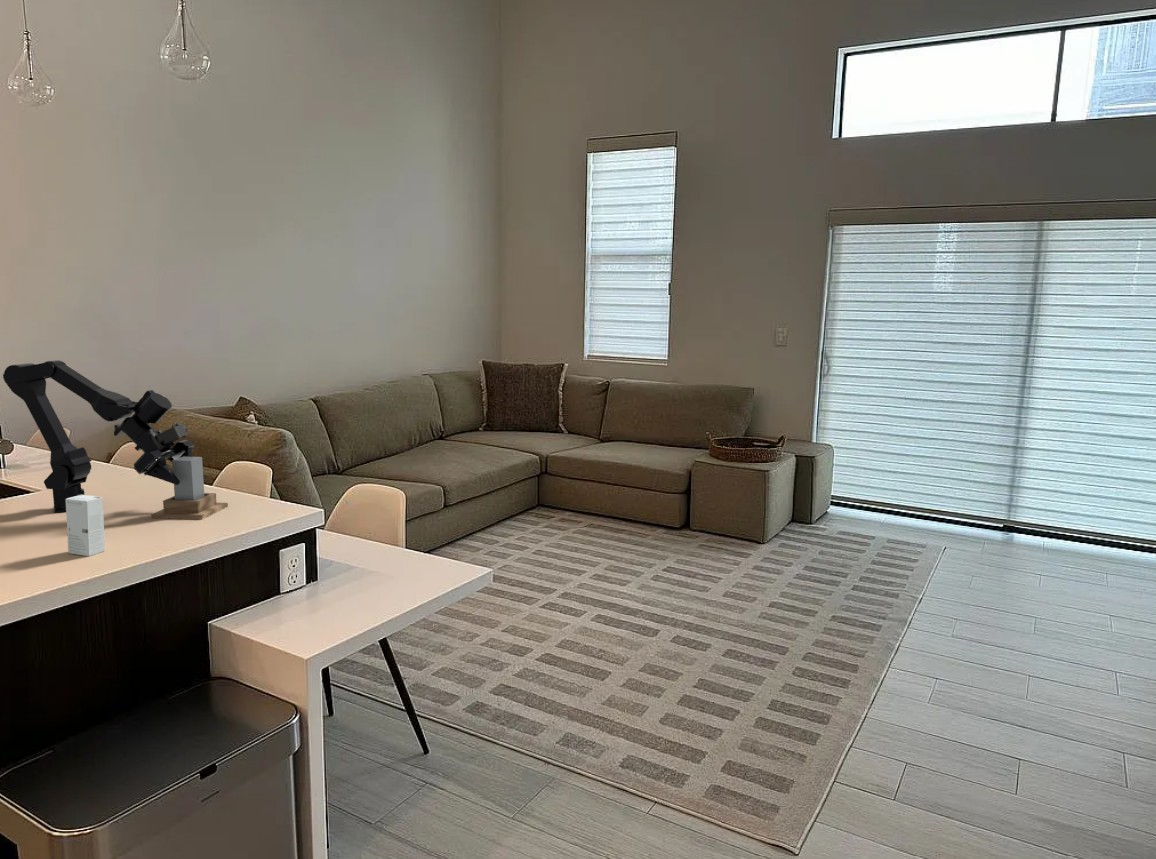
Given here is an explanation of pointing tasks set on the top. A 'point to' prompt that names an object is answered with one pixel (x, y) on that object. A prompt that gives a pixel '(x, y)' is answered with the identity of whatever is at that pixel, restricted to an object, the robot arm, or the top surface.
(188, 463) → the grey rectangular block
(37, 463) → the top surface
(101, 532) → the skincare box
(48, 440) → the robot arm
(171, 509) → the walnut socket
